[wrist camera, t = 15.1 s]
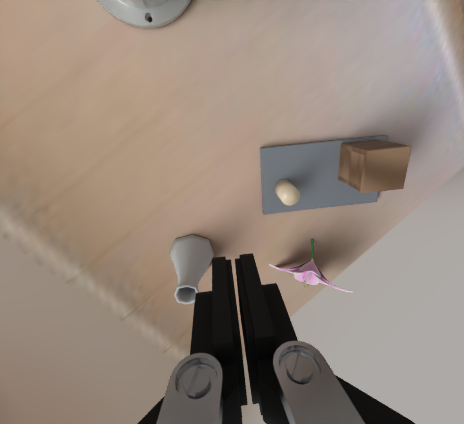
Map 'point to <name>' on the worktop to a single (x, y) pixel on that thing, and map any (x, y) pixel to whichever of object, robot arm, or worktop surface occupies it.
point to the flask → (190, 265)
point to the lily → (309, 273)
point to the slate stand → (307, 177)
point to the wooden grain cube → (373, 165)
